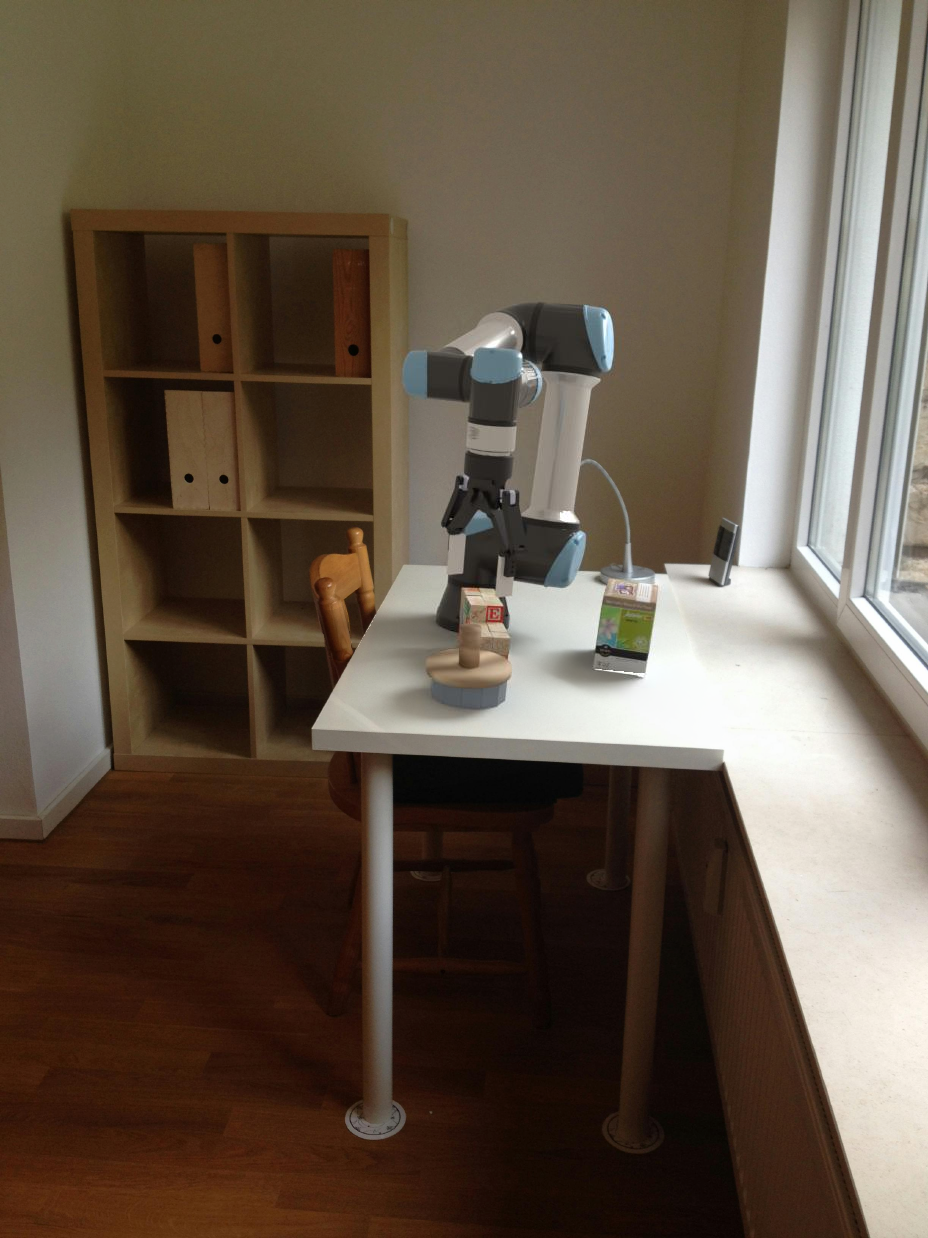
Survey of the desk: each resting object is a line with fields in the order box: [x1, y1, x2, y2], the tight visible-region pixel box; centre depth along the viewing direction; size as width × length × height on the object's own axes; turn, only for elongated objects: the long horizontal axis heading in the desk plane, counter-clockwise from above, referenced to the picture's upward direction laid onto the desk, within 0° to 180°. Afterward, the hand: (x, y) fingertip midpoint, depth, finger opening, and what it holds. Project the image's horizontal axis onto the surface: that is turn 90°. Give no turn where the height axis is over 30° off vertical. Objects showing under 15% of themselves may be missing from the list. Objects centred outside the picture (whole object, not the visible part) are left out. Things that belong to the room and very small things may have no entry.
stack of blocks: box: [456, 588, 511, 661], centre depth 185 cm, size 21×6×12 cm, turn 7°
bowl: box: [430, 679, 508, 710], centre depth 169 cm, size 12×12×5 cm
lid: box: [425, 623, 513, 689], centre depth 167 cm, size 14×14×8 cm
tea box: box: [592, 578, 659, 674], centre depth 194 cm, size 15×10×15 cm
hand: (478, 584), depth 165 cm, fingers open, 13 cm apart
